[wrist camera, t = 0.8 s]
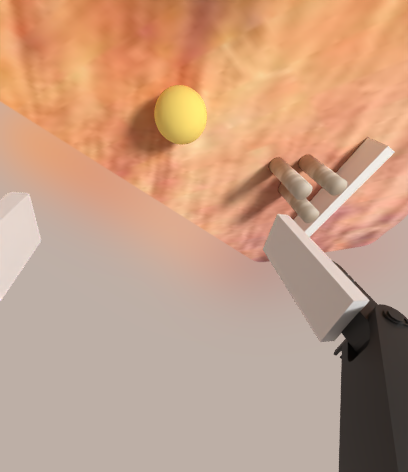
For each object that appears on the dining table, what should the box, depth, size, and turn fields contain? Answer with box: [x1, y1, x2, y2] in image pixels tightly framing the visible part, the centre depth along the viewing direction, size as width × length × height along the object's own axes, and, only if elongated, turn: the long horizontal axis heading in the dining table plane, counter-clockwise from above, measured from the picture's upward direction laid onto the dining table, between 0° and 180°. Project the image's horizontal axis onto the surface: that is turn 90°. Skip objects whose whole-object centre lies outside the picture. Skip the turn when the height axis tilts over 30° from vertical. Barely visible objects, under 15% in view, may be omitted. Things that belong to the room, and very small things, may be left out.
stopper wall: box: [294, 137, 394, 237], centre depth 39 cm, size 20×2×4 cm, turn 151°
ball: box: [154, 85, 207, 144], centre depth 26 cm, size 6×6×6 cm
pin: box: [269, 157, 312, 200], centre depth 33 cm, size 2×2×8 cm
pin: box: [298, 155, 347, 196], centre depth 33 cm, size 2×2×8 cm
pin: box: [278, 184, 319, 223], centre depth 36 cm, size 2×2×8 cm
